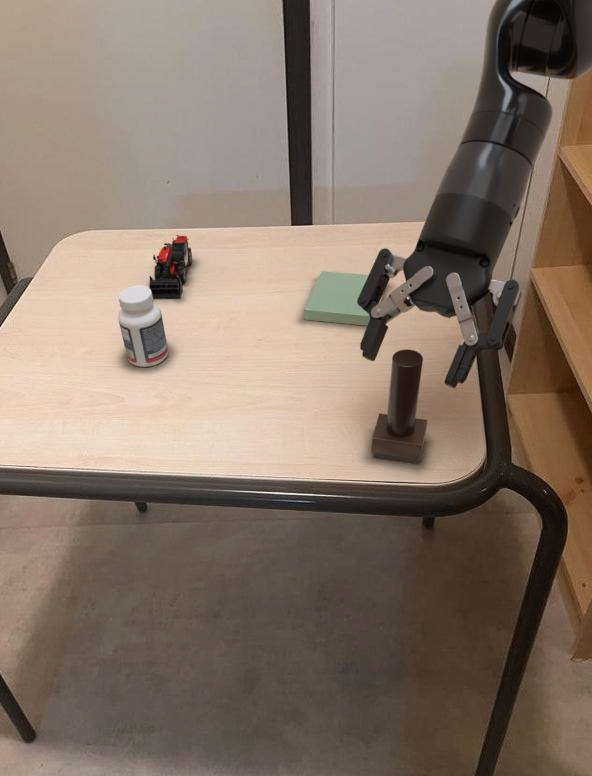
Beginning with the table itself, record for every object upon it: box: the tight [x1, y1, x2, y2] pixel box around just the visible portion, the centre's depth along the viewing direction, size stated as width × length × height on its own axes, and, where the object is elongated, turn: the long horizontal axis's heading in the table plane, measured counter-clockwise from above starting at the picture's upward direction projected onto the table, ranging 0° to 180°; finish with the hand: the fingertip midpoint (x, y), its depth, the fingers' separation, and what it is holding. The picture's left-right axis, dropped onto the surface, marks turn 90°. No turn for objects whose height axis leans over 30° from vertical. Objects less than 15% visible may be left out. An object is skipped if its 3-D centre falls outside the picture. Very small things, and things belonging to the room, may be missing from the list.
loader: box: [148, 234, 193, 298], centre depth 103 cm, size 12×5×5 cm, turn 173°
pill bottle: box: [117, 285, 169, 368], centre depth 88 cm, size 5×5×9 cm
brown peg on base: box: [371, 348, 429, 464], centre depth 71 cm, size 5×4×12 cm
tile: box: [303, 270, 385, 327], centre depth 96 cm, size 9×10×2 cm
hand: (407, 372), depth 69 cm, fingers open, 8 cm apart
